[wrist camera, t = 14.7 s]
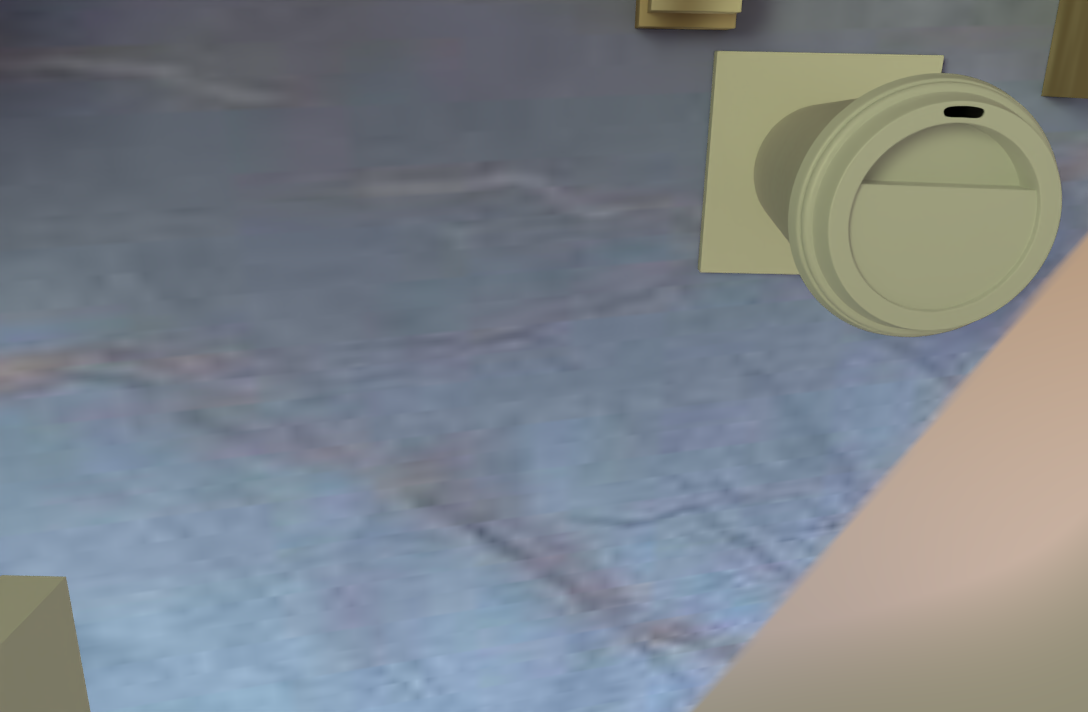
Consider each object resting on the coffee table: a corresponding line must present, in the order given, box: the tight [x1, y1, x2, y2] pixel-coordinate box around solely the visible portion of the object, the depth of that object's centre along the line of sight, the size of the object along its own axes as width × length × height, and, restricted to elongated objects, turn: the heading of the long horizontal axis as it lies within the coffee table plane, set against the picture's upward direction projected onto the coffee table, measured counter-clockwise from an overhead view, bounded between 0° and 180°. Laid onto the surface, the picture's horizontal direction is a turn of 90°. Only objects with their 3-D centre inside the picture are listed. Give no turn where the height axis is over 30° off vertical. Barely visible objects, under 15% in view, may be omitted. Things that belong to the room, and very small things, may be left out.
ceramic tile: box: [698, 51, 944, 274], centre depth 44 cm, size 11×11×1 cm
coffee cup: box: [754, 73, 1062, 337], centre depth 37 cm, size 10×10×15 cm
